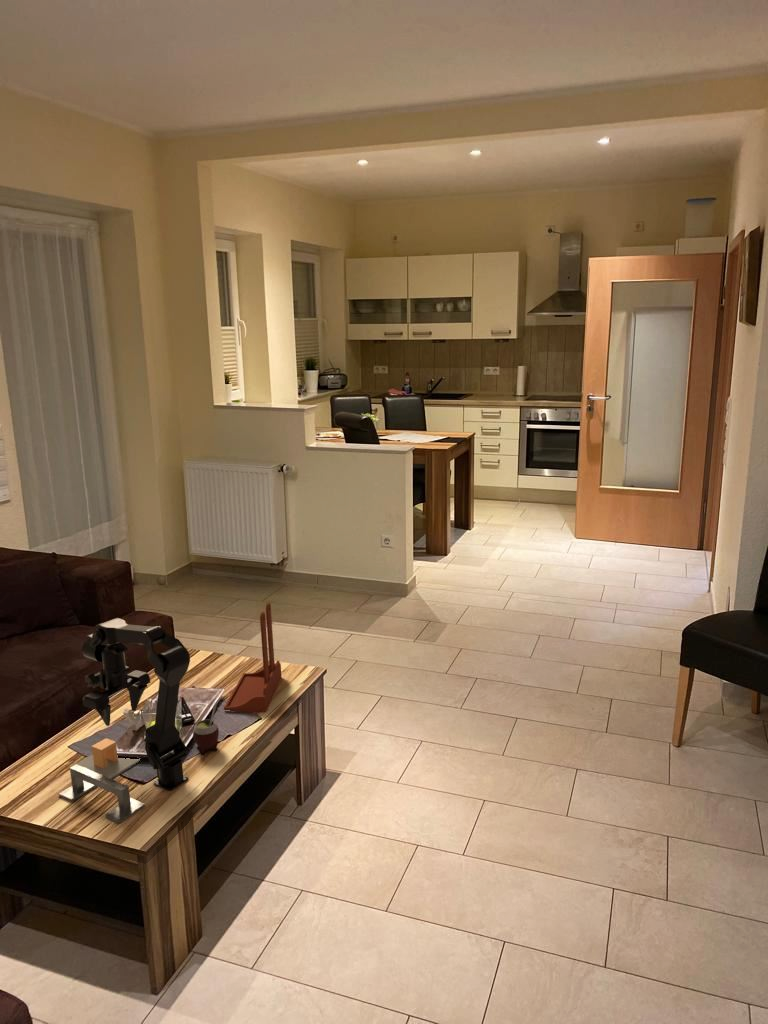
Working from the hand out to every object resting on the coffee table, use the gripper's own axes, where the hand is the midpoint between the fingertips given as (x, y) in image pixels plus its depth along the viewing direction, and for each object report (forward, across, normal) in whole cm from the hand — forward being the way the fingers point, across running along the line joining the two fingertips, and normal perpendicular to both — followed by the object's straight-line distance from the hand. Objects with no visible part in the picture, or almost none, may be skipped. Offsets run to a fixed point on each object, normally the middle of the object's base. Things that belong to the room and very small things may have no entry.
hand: (121, 717), depth 212 cm
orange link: (+12, +4, -3) cm, 13 cm away
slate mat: (+13, +4, -3) cm, 14 cm away
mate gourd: (+13, -15, +17) cm, 26 cm away
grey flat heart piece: (+13, -13, -10) cm, 21 cm away
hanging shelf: (+13, -47, +7) cm, 50 cm away
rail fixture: (+13, +17, +10) cm, 23 cm away
